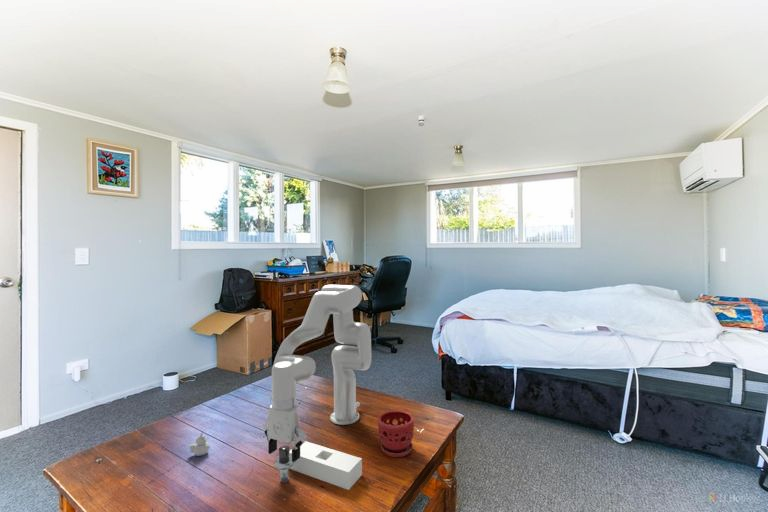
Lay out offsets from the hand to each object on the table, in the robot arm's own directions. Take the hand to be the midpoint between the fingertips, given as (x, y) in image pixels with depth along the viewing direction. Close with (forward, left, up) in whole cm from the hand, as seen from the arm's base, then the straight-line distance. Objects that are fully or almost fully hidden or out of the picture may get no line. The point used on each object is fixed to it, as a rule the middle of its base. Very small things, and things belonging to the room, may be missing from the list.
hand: (284, 455), depth 110 cm
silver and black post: (0, 0, -8) cm, 8 cm away
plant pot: (-31, +25, -8) cm, 41 cm away
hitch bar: (-9, +9, -8) cm, 15 cm away
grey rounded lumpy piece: (+3, -37, -8) cm, 38 cm away
